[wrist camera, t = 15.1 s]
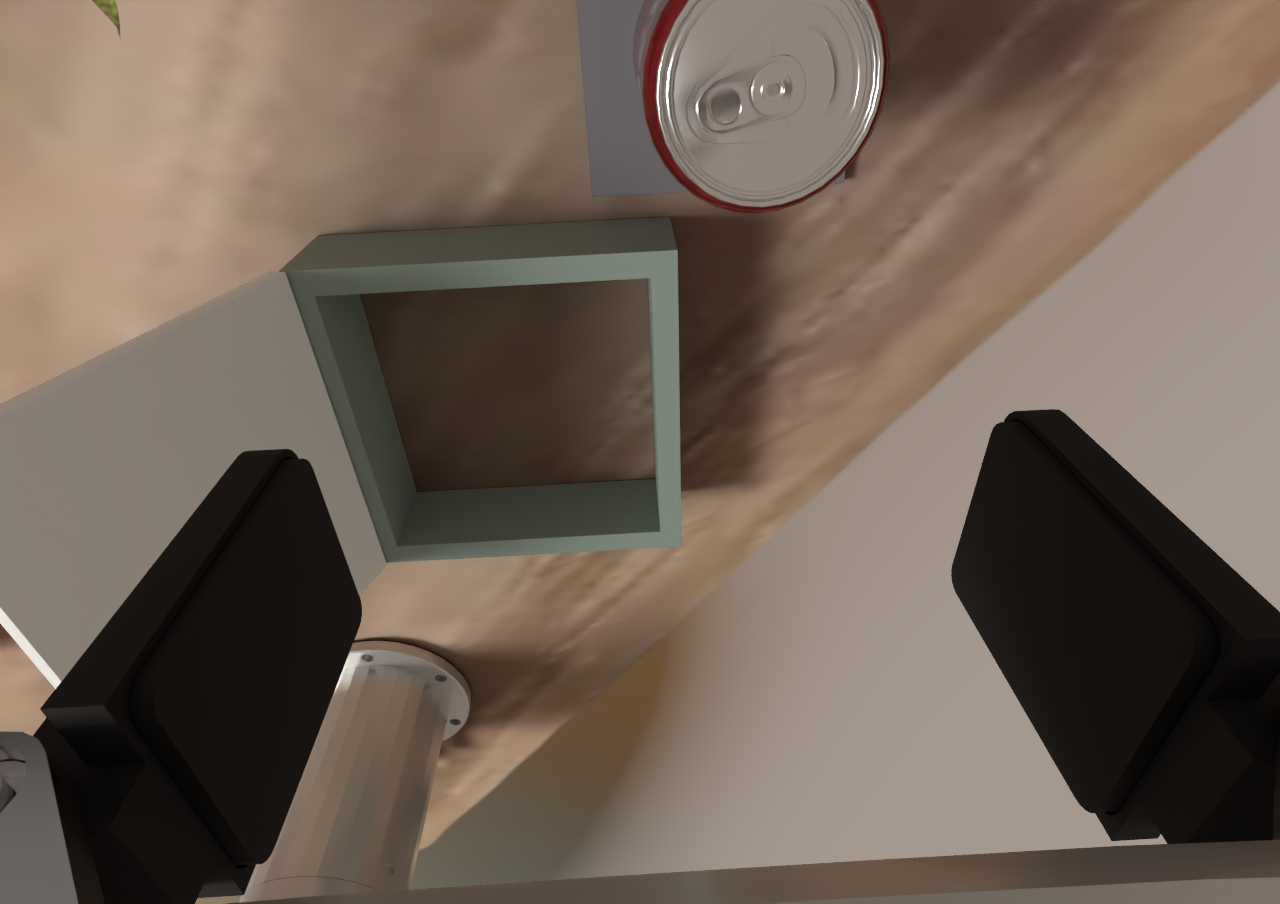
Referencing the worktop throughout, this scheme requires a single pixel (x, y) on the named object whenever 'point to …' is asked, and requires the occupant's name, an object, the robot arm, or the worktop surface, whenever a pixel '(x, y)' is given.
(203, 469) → the open hinged box
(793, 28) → the soda can
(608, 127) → the slate mat
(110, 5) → the house plant
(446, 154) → the worktop surface
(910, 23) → the worktop surface
